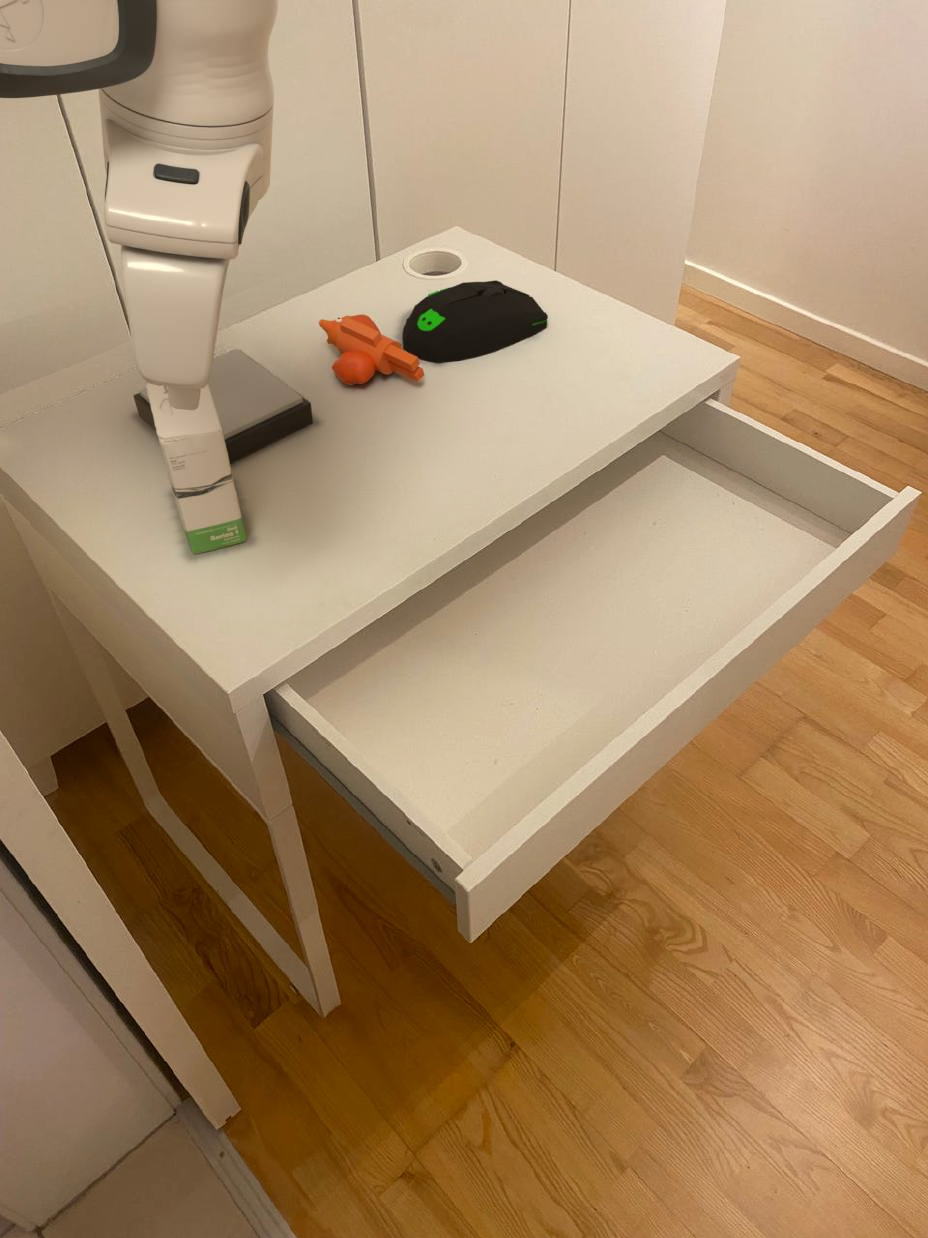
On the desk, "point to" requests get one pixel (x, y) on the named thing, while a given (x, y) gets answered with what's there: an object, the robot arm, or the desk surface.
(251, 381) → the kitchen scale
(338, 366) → the orange toy bird
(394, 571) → the desk surface
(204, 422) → the ink box
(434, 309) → the computer mouse
